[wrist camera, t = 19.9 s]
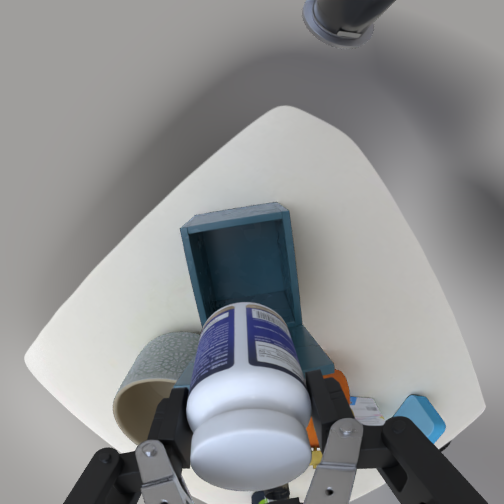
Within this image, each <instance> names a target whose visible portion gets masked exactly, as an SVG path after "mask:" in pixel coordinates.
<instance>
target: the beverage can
mask: <svg viewBox="0 0 504 504" xmlns="http://www.w3.org/2000/svg"><path fill="white" fill-rule="evenodd" d="M251 498H252V504H265V503H269V502H272V501H275V500H269V499H266V498H265V493H264V491H258V492H255V493H254V494H253V495H252V497H251Z"/></svg>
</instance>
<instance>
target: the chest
mask: <svg viewBox="0 0 504 504" xmlns="http://www.w3.org/2000/svg"><path fill="white" fill-rule="evenodd" d="M180 232H181V237H182V242H183V246H184V251H185V256H186V261H187V265H188V270H189V274H190V279H191V283H192V288H193V292H194V296H195V300H196V304H197V309H198V313H199V317H200V321H201V325H202V328H203V326H204V324H205V323H206V321H207V320H208V318H209V317H210V316H211V315H212V314H213V313H215V312H216V311H217V310H219V309H221V308H223V307H225V306H227V305H230V304H234V303H240V302H251V303H257V304H261V305H264V306H266V307H268V308H270V309H272V310H274V311H275V312H276V313H277V314H279V315H280V316H281V318H282V319H283V320H284V321H285V323H286V325H287V327H293V326H298V325H302V316H301V306H300V296H299V287H298V278H297V269H296V261H295V252H294V244H293V236H292V228H291V221H290V213H289V210H288V209H286V208H285V207H283V206H282V205H280V204H279V203H278V202H272V203H266V204H259V205H253V206H246V207H240V208H234V209H228V210H222V211H216V212H210V213H204V214H199V215H195V216H194V217H192V218H191V219H190V220H189V221H188V222H187V223H186V224H184V225H183V226H182V227H181V228H180Z"/></svg>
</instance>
